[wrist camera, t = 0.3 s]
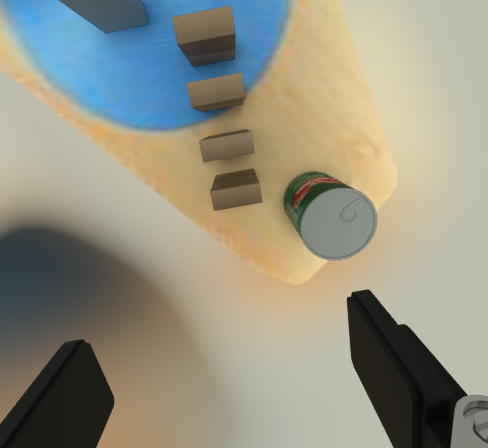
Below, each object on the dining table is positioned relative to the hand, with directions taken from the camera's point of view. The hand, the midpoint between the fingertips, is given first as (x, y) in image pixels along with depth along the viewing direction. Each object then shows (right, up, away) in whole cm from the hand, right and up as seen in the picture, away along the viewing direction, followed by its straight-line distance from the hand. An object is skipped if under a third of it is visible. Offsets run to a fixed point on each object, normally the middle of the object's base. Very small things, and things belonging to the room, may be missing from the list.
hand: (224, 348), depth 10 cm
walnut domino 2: (-2, +20, +25) cm, 32 cm away
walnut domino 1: (-3, +24, +23) cm, 34 cm away
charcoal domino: (-13, +27, +22) cm, 37 cm away
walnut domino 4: (0, +10, +28) cm, 30 cm away
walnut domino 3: (-1, +15, +26) cm, 31 cm away
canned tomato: (+10, +8, +30) cm, 32 cm away
